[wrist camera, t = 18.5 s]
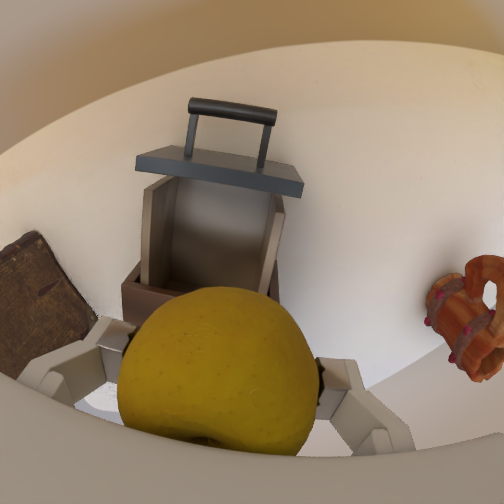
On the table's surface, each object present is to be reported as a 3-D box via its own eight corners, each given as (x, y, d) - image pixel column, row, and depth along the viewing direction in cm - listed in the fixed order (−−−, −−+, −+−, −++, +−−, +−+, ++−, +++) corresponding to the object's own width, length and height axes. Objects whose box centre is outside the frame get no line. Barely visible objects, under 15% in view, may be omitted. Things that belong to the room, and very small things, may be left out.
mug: (453, 321, 38) (499, 390, 24) (410, 323, 38) (452, 402, 24) (483, 230, 32) (555, 284, 18) (438, 224, 32) (513, 285, 18)
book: (19, 236, 35) (-99, 330, 12) (46, 219, 34) (-92, 321, 11) (72, 328, 41) (-7, 447, 18) (102, 320, 40) (19, 457, 17)
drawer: (177, 98, 27) (144, 91, 19) (303, 118, 27) (319, 117, 19) (159, 278, 35) (132, 322, 27) (263, 298, 36) (262, 348, 28)
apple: (336, 309, 13) (382, 478, 5) (241, 382, 15) (226, 525, 8) (222, 212, 11) (148, 374, 4) (137, 312, 13) (60, 454, 6)
